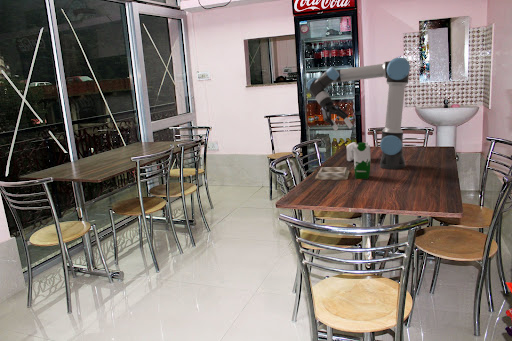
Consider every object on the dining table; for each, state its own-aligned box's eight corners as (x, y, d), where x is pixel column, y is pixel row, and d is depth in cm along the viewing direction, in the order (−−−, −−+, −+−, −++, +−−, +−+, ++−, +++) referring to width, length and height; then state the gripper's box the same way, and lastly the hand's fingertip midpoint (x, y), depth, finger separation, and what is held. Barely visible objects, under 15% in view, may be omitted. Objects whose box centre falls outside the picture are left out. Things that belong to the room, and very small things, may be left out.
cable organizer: (361, 163, 282) (361, 145, 279) (346, 162, 287) (345, 145, 285) (368, 158, 294) (368, 141, 292) (353, 157, 300) (353, 141, 297)
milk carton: (353, 179, 242) (353, 143, 237) (355, 175, 250) (355, 141, 246) (369, 179, 239) (369, 143, 235) (371, 175, 247) (370, 141, 243)
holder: (349, 172, 258) (349, 166, 257) (347, 179, 241) (347, 173, 240) (319, 172, 263) (319, 166, 262) (315, 179, 246) (314, 173, 245)
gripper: (333, 103, 266) (353, 130, 258) (307, 106, 249) (326, 134, 242) (341, 95, 261) (361, 122, 253) (314, 97, 244) (334, 126, 237)
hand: (344, 128), depth 248 cm, fingers open, 13 cm apart
